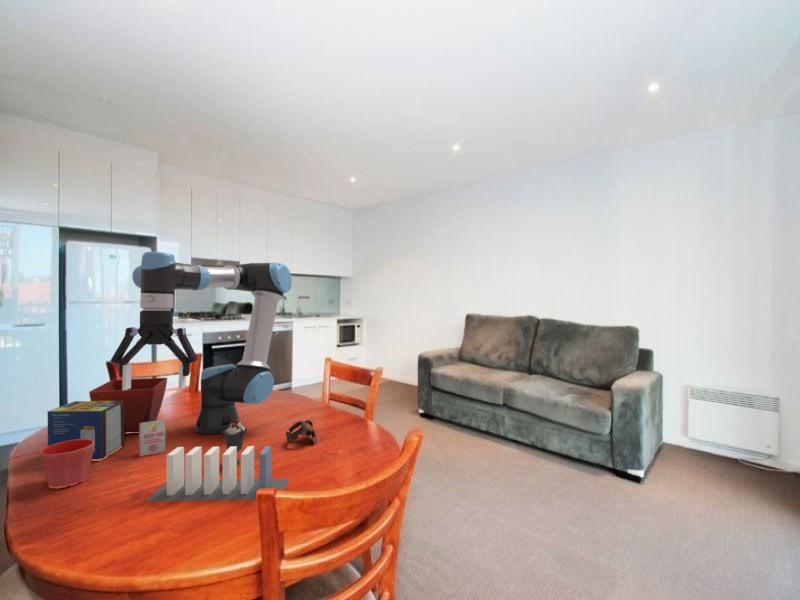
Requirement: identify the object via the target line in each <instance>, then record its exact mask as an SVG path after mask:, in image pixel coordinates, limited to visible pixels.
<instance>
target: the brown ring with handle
mask: <svg viewBox="0 0 800 600" xmlns="http://www.w3.org/2000/svg"><path fill="white" fill-rule="evenodd" d="M294 430H295V431H294ZM285 436H286V442H288V443H291V442H294V441H296V442H299V436H306V437H311V441H312V442H313V445H314V446H315V445H316V444H317V442H318V438H317V434H316V432H315V429H314V423H313V421H312V420H310V419H307V420H299V421H297V422H295V423H294V424H292V425H291V426H290V427H289V428H288V430H287V431H286V432H285Z"/></svg>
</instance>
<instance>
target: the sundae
mask: <svg viewBox="0 0 800 600" xmlns="http://www.w3.org/2000/svg"><path fill="white" fill-rule="evenodd" d="M235 417H236V416H235ZM235 417H234V419H235ZM234 419H233V422H232V423H231V424H230V426H229V427H228V428H227V429H225V430H224V431H223V432H222V433H221V434H223V435H224V437H225V445H226V451H227V450H228V449H229V448H230V447H231V446H237V454H238V452H240V450H242V449H243V444H244V436H245V433H247V431H248V428H247V427H245V425H244V424H243V422H242V421H241V420H240V421H238V420H237V419H235V421H234ZM243 425H244V426H243ZM239 464H240V465H241V460H238V458H237V466H238V465H239Z"/></svg>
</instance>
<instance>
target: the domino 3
mask: <svg viewBox="0 0 800 600" xmlns="http://www.w3.org/2000/svg"><path fill="white" fill-rule="evenodd" d="M203 480H204V495H211V493H212V492H213V491H214V490H215V489H216V488H217V486H218V485H219V480H220V446H212V447H211V448H210V449H208V451H207V452H206V453H204V455H203Z"/></svg>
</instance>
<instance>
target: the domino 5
mask: <svg viewBox="0 0 800 600" xmlns="http://www.w3.org/2000/svg"><path fill="white" fill-rule="evenodd" d="M240 461H241V463H240V479H241V494H248V492H249V491H250V489H251V488H252V486H253V485H254V479H255V446H254V445H252V446H251V445H248V446H247V447H246V448H245V449H244V450H243V452H241V454H240Z"/></svg>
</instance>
